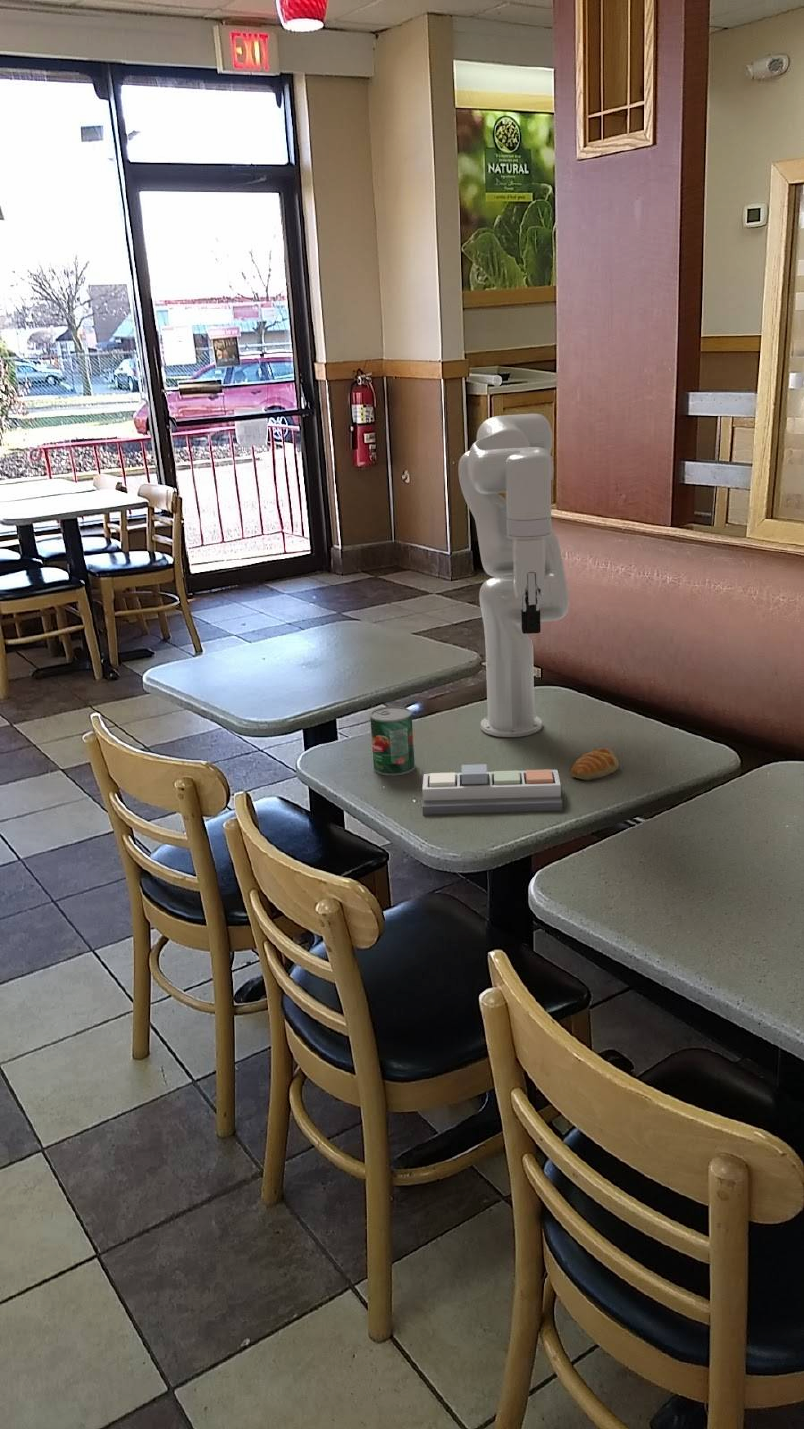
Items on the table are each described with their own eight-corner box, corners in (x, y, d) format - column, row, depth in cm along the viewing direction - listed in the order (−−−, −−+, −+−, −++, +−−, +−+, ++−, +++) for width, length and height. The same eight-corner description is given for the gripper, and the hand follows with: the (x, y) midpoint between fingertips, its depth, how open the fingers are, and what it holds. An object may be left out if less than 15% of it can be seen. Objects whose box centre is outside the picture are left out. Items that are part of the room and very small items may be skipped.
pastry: (592, 786, 196) (592, 766, 195) (561, 777, 201) (561, 758, 200) (621, 770, 203) (621, 750, 201) (591, 762, 207) (591, 743, 206)
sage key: (494, 780, 194) (493, 771, 194) (519, 779, 194) (518, 770, 193) (494, 790, 190) (494, 780, 189) (520, 789, 190) (520, 780, 189)
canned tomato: (423, 765, 210) (420, 710, 206) (396, 778, 204) (393, 723, 200) (391, 757, 214) (388, 703, 211) (364, 770, 209) (360, 715, 205)
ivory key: (430, 782, 195) (430, 773, 194) (455, 781, 195) (455, 772, 194) (429, 792, 191) (429, 782, 190) (455, 791, 190) (454, 782, 190)
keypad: (425, 787, 199) (424, 768, 198) (556, 783, 198) (556, 764, 197) (422, 814, 188) (421, 795, 187) (562, 810, 186) (561, 790, 185)
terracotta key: (525, 779, 194) (525, 770, 193) (551, 778, 193) (550, 769, 193) (527, 789, 190) (527, 779, 189) (553, 788, 189) (552, 778, 189)
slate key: (461, 774, 194) (461, 765, 194) (486, 773, 194) (486, 764, 193) (461, 784, 190) (461, 774, 189) (487, 783, 190) (487, 773, 189)
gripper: (505, 521, 194) (507, 622, 200) (508, 536, 180) (511, 644, 186) (548, 519, 194) (549, 620, 200) (554, 534, 180) (556, 642, 186)
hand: (531, 632), depth 193 cm, fingers closed
